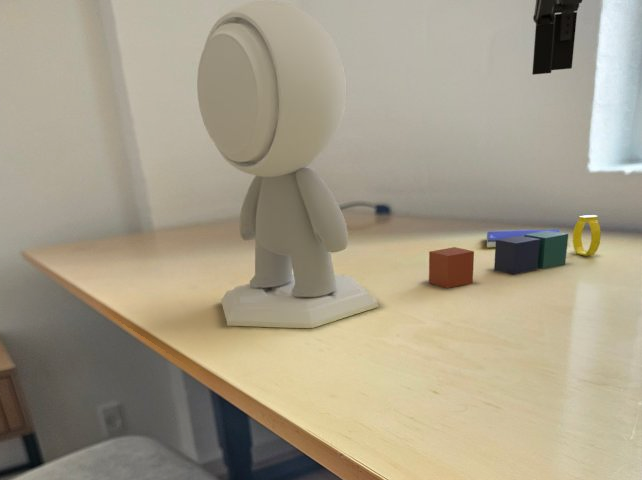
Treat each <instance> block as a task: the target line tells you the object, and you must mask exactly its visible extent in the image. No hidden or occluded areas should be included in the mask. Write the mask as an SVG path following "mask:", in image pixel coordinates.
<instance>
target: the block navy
mask: <svg viewBox="0 0 642 480" xmlns="http://www.w3.org/2000/svg"><path fill="white" fill-rule="evenodd" d="M539 244H540V239H536V238H530V237H524V236H514V237H508V238H503V239H497V240H496V245H495V247H494V265H493V266H494V267H493V270H494V271H498V272H501V273H506V274H510V275H518V274H523V273H524V274H525V273H528V272H533V271H537V270H538V269H539V268H538V256H539Z"/></svg>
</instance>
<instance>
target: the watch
mask: <svg viewBox="0 0 642 480" xmlns="http://www.w3.org/2000/svg"><path fill="white" fill-rule="evenodd" d="M598 219H599V216H598V215H596V214H585V215H579V216H578V220H577V221H576V223H575V225H574V228H573V232H572V245H573V250H574V252H575V254H576V255H581V256H584V257H586V256H588V257H589V256H594V255H595V254H596V252H597V251H598V250H599V247H600V243H601V238H602V237H601V233H602V232H601V226H600V223H599V221H598ZM586 223H587V224H588V225H589V228H590V232H591V236H590V237H591V238H590V244H589V247H588V249H587V251H586V250H585V248H584V247H583V239H582V237H583V229H584V227H585V225H586Z"/></svg>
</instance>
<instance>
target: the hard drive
mask: <svg viewBox="0 0 642 480" xmlns="http://www.w3.org/2000/svg"><path fill="white" fill-rule="evenodd" d="M542 231H553V232H560V231H559V229H558V228H557V229H556V228H555V229H554V228H553V229H527V230H498V231H497V230H496V231H495V230H491V231H487V232H486V248H488V249H489V248H495V245H496V240H497V239H503V238H508V237H514V236H524V235H525V234H530V233H536V232H542Z"/></svg>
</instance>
